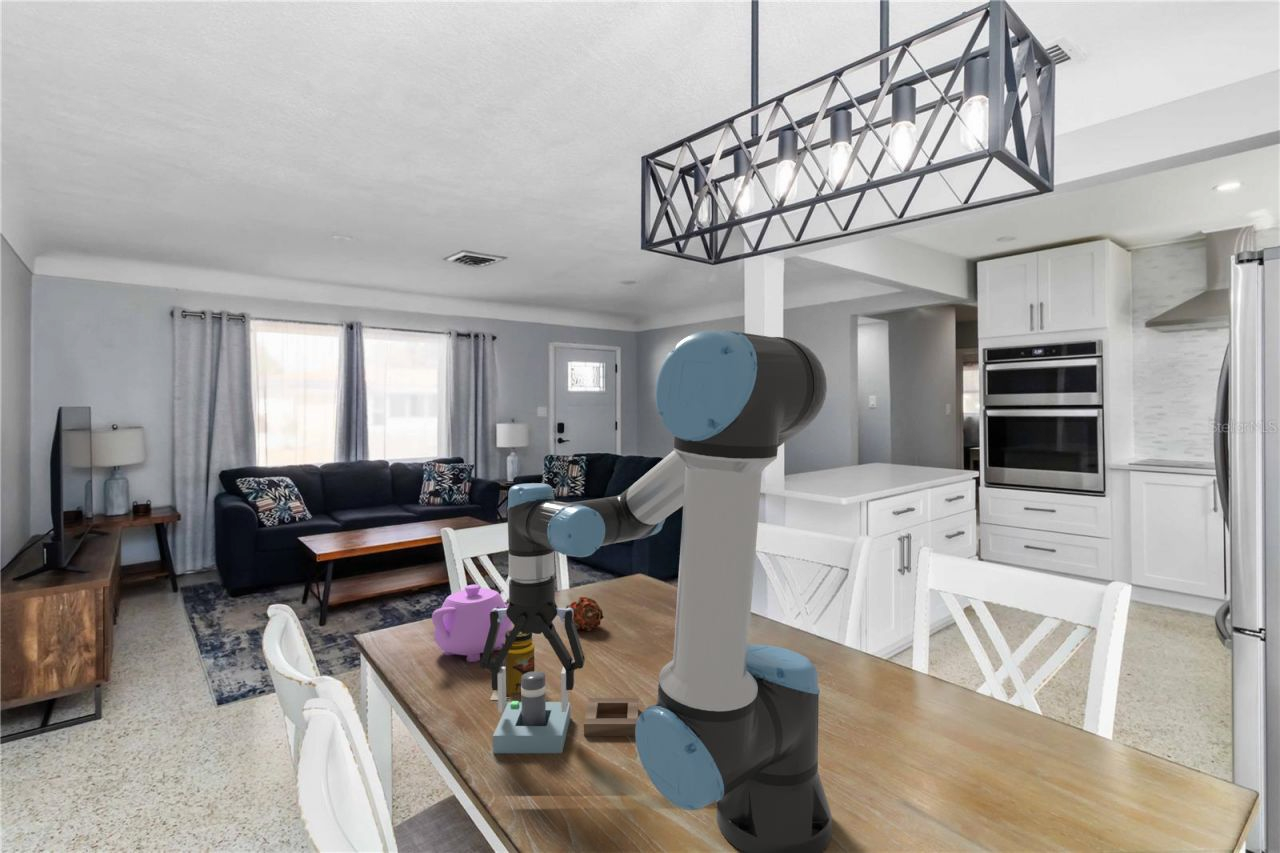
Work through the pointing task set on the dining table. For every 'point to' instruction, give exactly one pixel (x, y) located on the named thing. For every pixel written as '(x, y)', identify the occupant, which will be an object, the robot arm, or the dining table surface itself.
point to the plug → (533, 699)
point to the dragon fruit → (586, 613)
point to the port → (531, 731)
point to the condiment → (517, 663)
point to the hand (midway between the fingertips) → (533, 708)
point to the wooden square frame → (611, 717)
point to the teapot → (468, 622)
